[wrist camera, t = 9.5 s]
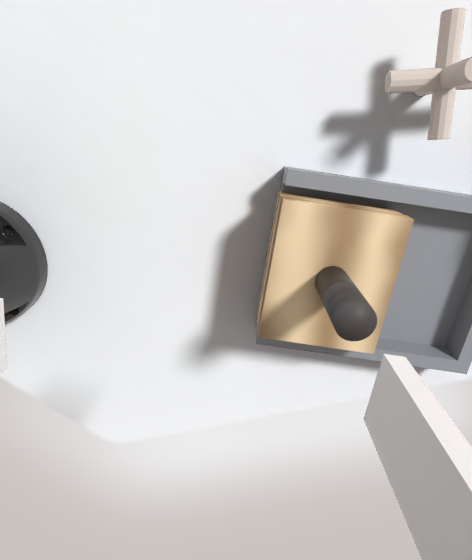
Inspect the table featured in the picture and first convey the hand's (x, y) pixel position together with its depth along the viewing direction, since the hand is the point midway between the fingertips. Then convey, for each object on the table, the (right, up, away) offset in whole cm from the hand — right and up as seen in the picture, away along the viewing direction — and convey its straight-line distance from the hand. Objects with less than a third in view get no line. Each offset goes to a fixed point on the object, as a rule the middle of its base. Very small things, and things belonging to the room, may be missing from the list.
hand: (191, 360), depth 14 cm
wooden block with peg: (+11, +5, +30) cm, 32 cm away
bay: (+17, +4, +31) cm, 36 cm away
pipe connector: (+20, +22, +25) cm, 39 cm away
